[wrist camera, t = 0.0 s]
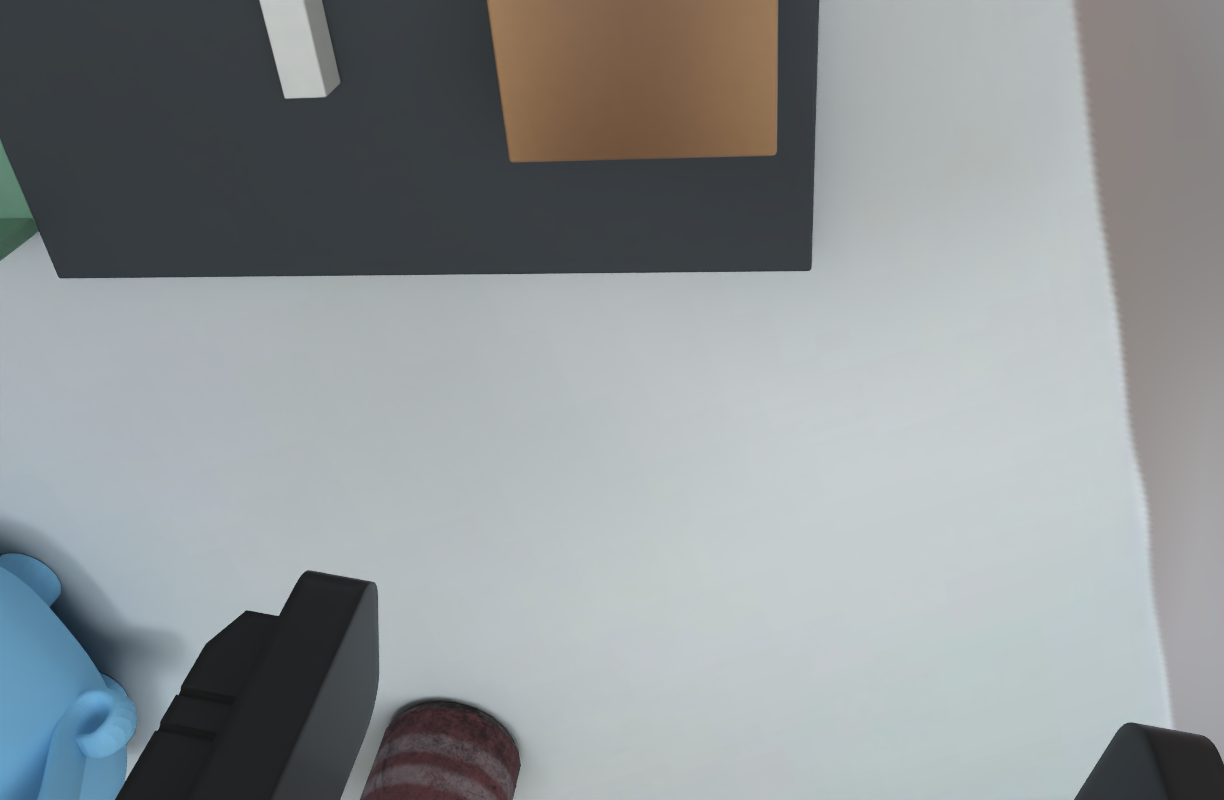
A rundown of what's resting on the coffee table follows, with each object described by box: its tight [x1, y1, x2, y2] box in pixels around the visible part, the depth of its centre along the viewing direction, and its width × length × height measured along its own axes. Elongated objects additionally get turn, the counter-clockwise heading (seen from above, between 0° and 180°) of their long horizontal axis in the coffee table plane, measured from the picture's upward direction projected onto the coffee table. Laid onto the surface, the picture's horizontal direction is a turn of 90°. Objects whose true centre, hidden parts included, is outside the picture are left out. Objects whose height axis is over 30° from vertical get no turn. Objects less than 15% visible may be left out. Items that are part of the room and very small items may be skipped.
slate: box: [0, 0, 819, 278], centre depth 28 cm, size 24×16×1 cm, turn 95°
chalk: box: [259, 0, 340, 99], centre depth 28 cm, size 1×4×1 cm, turn 5°
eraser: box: [487, 0, 778, 162], centre depth 25 cm, size 6×4×6 cm
